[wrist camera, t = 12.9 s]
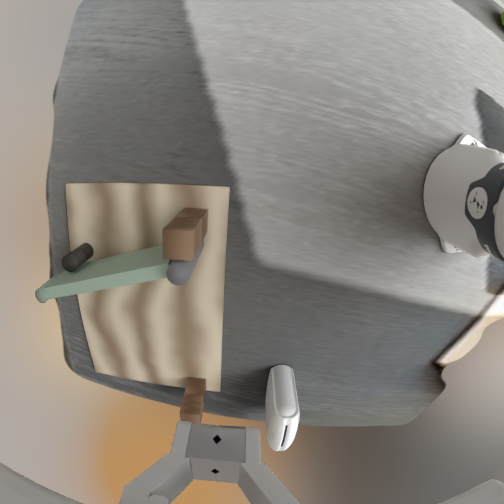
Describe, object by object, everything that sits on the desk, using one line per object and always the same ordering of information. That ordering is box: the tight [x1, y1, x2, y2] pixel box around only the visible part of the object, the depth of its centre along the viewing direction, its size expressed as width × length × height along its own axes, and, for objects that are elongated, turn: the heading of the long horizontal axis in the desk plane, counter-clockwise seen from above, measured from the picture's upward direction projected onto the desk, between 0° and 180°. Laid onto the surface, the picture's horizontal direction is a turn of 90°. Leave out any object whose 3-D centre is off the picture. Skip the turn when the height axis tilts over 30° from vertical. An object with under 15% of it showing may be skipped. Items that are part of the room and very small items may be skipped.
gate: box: [35, 241, 204, 303], centre depth 35 cm, size 23×2×10 cm, turn 102°
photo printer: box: [265, 365, 299, 451], centre depth 43 cm, size 10×4×12 cm, turn 176°
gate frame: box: [62, 183, 230, 423], centre depth 38 cm, size 24×34×11 cm
